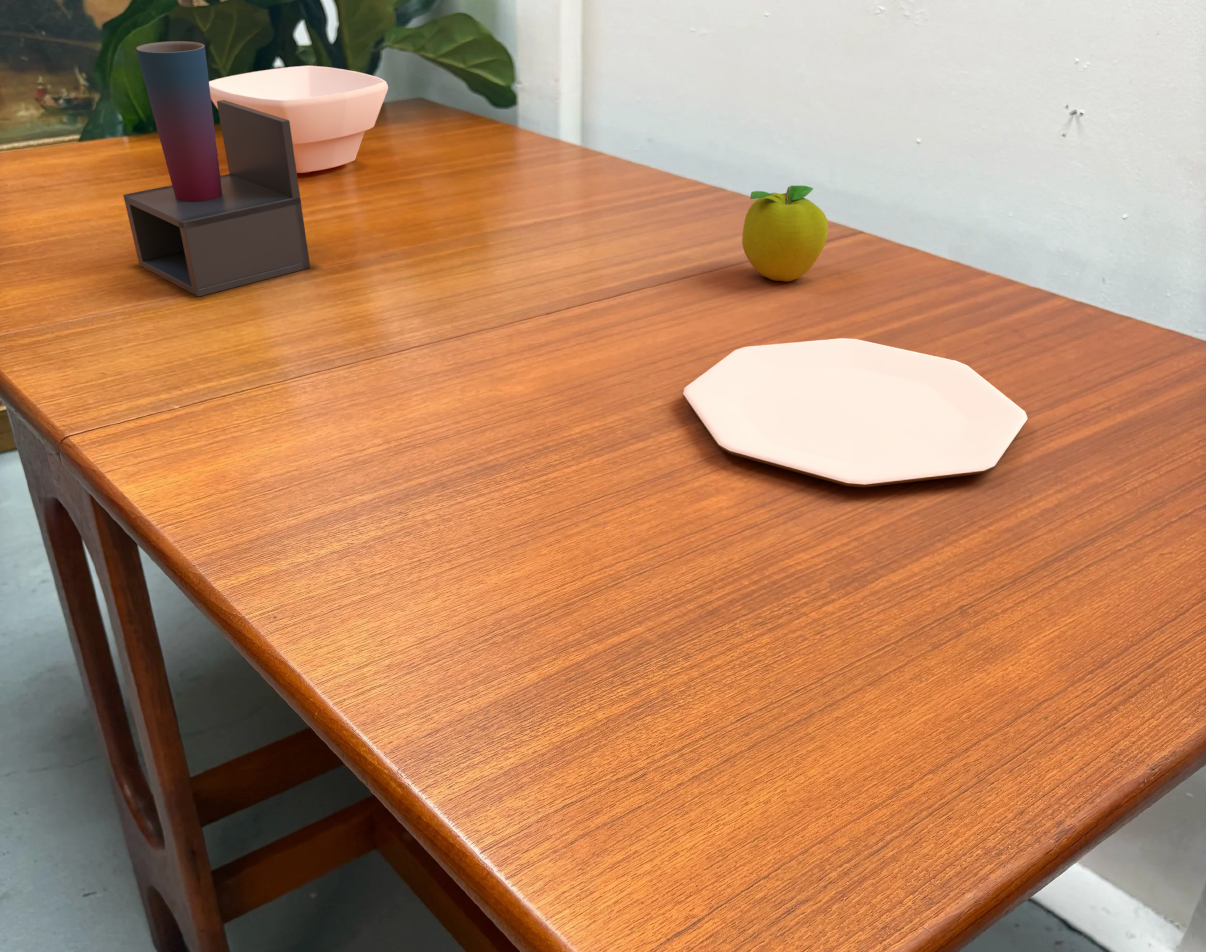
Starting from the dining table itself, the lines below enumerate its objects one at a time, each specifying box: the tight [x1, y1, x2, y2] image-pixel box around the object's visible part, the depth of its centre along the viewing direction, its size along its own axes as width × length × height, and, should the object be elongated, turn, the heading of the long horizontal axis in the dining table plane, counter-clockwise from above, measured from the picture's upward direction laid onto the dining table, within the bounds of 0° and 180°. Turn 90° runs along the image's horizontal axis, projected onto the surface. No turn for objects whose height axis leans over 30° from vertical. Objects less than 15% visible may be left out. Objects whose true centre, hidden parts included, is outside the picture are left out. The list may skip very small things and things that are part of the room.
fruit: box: [741, 185, 829, 283], centre depth 126 cm, size 9×9×10 cm
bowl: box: [209, 65, 389, 174], centre depth 164 cm, size 22×22×12 cm
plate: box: [682, 337, 1028, 488], centre depth 99 cm, size 28×28×2 cm
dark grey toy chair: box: [122, 100, 311, 297], centre depth 126 cm, size 14×14×16 cm
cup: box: [135, 40, 222, 202], centre depth 122 cm, size 7×7×15 cm
